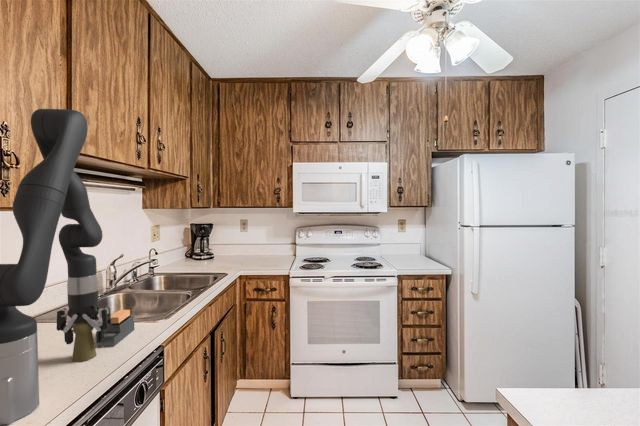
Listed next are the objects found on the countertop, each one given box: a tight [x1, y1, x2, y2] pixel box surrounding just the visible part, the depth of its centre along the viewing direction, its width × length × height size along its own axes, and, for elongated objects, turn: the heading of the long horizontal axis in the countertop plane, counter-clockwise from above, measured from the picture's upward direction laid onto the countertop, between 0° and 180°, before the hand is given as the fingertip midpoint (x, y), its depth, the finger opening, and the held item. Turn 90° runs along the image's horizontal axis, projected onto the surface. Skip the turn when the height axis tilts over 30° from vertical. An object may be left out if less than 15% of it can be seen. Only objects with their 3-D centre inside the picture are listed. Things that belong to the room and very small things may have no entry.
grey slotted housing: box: [97, 315, 135, 348], centre depth 114 cm, size 14×5×6 cm, turn 5°
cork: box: [71, 322, 97, 363], centre depth 99 cm, size 6×6×11 cm
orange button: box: [110, 309, 131, 324], centre depth 115 cm, size 8×4×2 cm, turn 5°
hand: (85, 342), depth 100 cm, fingers open, 8 cm apart
